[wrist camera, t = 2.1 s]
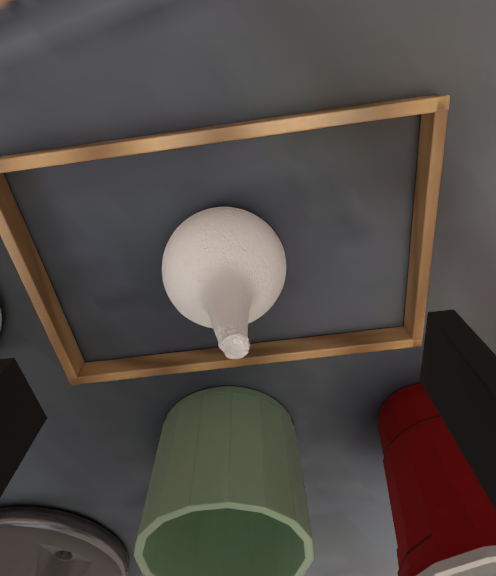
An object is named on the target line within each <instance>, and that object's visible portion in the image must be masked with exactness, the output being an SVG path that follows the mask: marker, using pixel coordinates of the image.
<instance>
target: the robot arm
mask: <svg viewBox="0 0 496 576" xmlns="http://www.w3.org/2000/svg"><path fill="white" fill-rule="evenodd" d="M420 382H421V384H422V385H423V387H424V389H425V390H426V392H427V394H428V396H429V397H430V399H431V401H432V402H433V404H434V406H435V408H436V409H437V411H438V413H439V414H440V416H441V418H442V420H443V421H444V423H445V425H446V426H447V428H448V430H449V431H450V433H451V435H452V437H453V438H454V440H455V442H456V443H457V445H458V447H459V449H460V450H461V452H462V454H463V455H464V457H465V459H466V461H467V462H468V464H469V466H470V467H471V469H472V471H473V473H474V474H475V476H476V478H477V479H478V481H479V483H480V485H481V486H482V488H483V490H484V491H485V493H486V495H487V497H488V498H489V500H490V502H491V503H492V505H493V507H494V509H495V510H496V355H495V354H494V353H493V352H492V351H491V350H490V349H489V347H488V346H487V345H486V344H485V343H484V342H483V341H482V340H481V339H480V338H479V337H478V335H477V334H476V333H475V332H474V331H473V330H472V329H471V328H470V327H469V326H468V325H467V323H466V322H465V321H464V320H463V319H462V318H461V317H460V316H459V315H458V314H457V313H456V311H455V310H446V311H437V312H428V317H427V325H426V333H425V342H424V350H423V358H422V366H421V375H420ZM46 419H47V417H46V415H45V413H44V411H43V409H42V408H41V406H40V404H39V402H38V400H37V398H36V397H35V395H34V393H33V391H32V389H31V387H30V386H29V384H28V382H27V380H26V378H25V376H24V375H23V373H22V371H21V369H20V367H19V365H18V364H17V362H16V360H15V358H9V359H0V497H1V495H2V494H3V492H4V490H5V488H6V487H7V485H8V483H9V482H10V480H11V478H12V477H13V475H14V473H15V472H16V470H17V468H18V466H19V465H20V463H21V461H22V460H23V458H24V456H25V455H26V453H27V451H28V449H29V448H30V446H31V444H32V443H33V441H34V439H35V438H36V436H37V434H38V433H39V431H40V429H41V427H42V426H43V424H44V422H45V421H46ZM128 567H129V558H128V554H127V552H126V549H125V548H124V546H123V545H122V544H121V542H120V541H119V540H118V539H117V538H116V537H115V536H114V535H113V534H111V533H110V532H109V531H107V530H106V529H104V528H103V527H101V526H99V525H98V524H96V523H94V522H92V521H90V520H87V519H85V518H82V517H80V516H77V515H74V514H71V513H67V512H63V511H59V510H54V509H48V508H40V507H23V506H22V507H6V508H0V576H126V575H127V571H128Z"/></svg>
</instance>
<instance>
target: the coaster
mask: <svg viewBox="0 0 496 576" xmlns="http://www.w3.org/2000/svg"><path fill="white" fill-rule="evenodd" d="M1 324H2V315H1V308H0V330H1Z"/></svg>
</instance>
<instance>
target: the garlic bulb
mask: <svg viewBox="0 0 496 576" xmlns="http://www.w3.org/2000/svg"><path fill="white" fill-rule="evenodd" d="M285 277H286V257H285V252H284V249H283V246H282V243H281V242H280V240H279V238H278V237H277V235H276V233H275V232H274V231H273V229H272V228H271V227H270V226H269V225H268V224H267V223H266V222H264V221H263V220H262V219H261V218H259V217H258V216H256V215H254V214H253V213H250V212H248V211H245V210H242V209H239V208H234V207H214V208H209V209H206V210H203V211H200V212H197V213H196V214H194V215H192V216H190V217H189V218H188V219H186V220H185V221H184V222H182V223H181V224H180V225H179V226H178V227H177V229H176V230H175V231H174V233H173V234H172V235H171V237H170V239H169V241H168V243H167V245H166V247H165V251H164V254H163V260H162V278H163V283H164V287H165V290H166V292H167V295H168V297H169V298H170V300H171V302H172V303H173V305H174V306H175V307H176V308H177V310H178V311H179V312H180V313H181V314H182V315H183V316H185V317H186V318H188V319H189V320H191V321H193V322H195V323H197V324H199V325H202V326H205V327H208V328H213V329H214V332H215V335H216V337H217V340H218V342H219V343H218V347H219V348H220V349H221V350H222V351H223V352H224V354H225V356H226V357H227V358H230V359H240V358H243V357H244V356H245V355H247V353H249V352H248V350H249V346H250V344H249V343H250V342H248V340H249V339H248V324H249V323H251V322H253V321H255V320H256V319H258V318H260V317H261V316H262V315H264V314H265V313H266V312H267V311H268V310H269V309H270V308H271V307H272V306H273V304H274V303H275V301H276V300H277V298H278V297H279V295H280V293H281V291H282V288H283V286H284V282H285Z"/></svg>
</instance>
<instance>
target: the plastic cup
mask: <svg viewBox="0 0 496 576" xmlns="http://www.w3.org/2000/svg"><path fill="white" fill-rule="evenodd" d="M378 422H379V423H378V430H379V435H380V439H381V444H382V449H383V454H384V459H383V463H384V468H385V474H386V480H387V486H388V492H389V498H390V504H391V510H392V515H393V521H394V527H395V533H396V539H397V545H398V548H397V557H398V565H399V570H398V576H496V510H495V509H494V507H493V505H492V503H491V502H490V500H489V498H488V497H487V495H486V493H485V491H484V490H483V488H482V486H481V485H480V483H479V481H478V479H477V478H476V476H475V474H474V473H473V471H472V469H471V467H470V466H469V464H468V462H467V461H466V459H465V457H464V455H463V454H462V452H461V450H460V449H459V447H458V445H457V443H456V442H455V440H454V438H453V437H452V435H451V433H450V431H449V430H448V428H447V426H446V425H445V423H444V421H443V420H442V418H441V416H440V414H439V413H438V411H437V409H436V408H435V406H434V404H433V402H432V401H431V399H430V397H429V396H428V394H427V392H426V390H425V389H424V387H423V385H422V384H421V383H418V384H414V385H411V386H407V387H404V388H402V389H400V390H399V391H397V392H395V393H394V394H392V395H391V396H389V398H388V399H387V400H386V401H385V402H384V403H383V405H382V406H381V408H380V411H379V415H378Z"/></svg>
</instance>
